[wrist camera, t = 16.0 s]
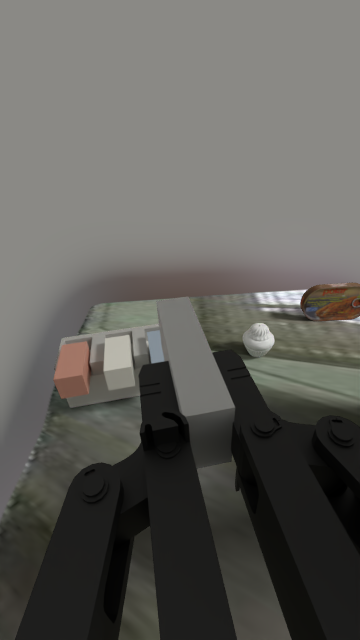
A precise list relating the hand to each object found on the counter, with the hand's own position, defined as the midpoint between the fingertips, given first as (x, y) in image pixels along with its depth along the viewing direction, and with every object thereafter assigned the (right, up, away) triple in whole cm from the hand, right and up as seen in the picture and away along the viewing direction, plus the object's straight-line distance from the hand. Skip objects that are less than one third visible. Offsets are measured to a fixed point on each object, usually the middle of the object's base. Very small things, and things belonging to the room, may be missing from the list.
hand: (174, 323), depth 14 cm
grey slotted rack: (-10, -11, +41) cm, 44 cm away
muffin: (+16, -7, +46) cm, 49 cm away
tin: (+36, +1, +55) cm, 66 cm away
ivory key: (-9, -8, +34) cm, 36 cm away
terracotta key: (-16, -9, +33) cm, 38 cm away
